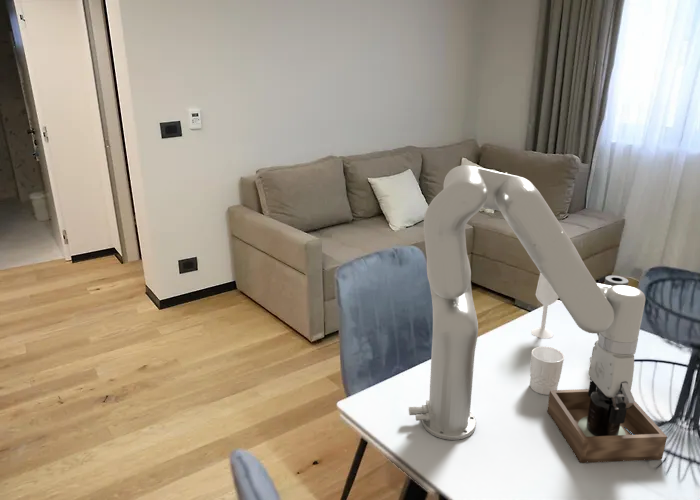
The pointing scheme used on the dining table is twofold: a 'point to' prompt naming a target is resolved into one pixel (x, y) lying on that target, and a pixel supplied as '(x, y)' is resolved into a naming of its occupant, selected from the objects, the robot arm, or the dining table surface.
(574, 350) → the dining table surface
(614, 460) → the walnut box
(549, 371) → the white cup
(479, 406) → the dining table surface
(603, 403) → the supplement bottle
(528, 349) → the dining table surface
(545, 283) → the champagne flute
